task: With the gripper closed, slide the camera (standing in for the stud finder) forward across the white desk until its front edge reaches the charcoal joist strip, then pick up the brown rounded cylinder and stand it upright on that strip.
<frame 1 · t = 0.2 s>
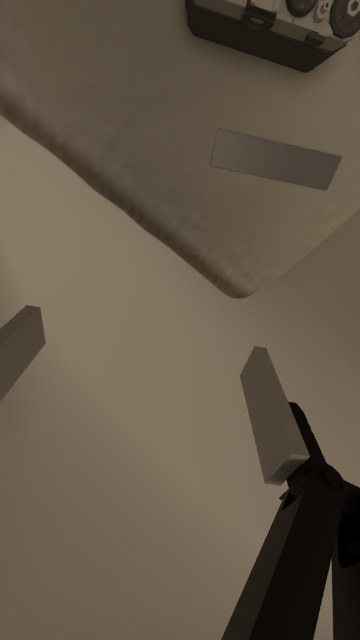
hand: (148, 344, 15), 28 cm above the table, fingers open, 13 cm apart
joist strip: (274, 161, 32), on the table
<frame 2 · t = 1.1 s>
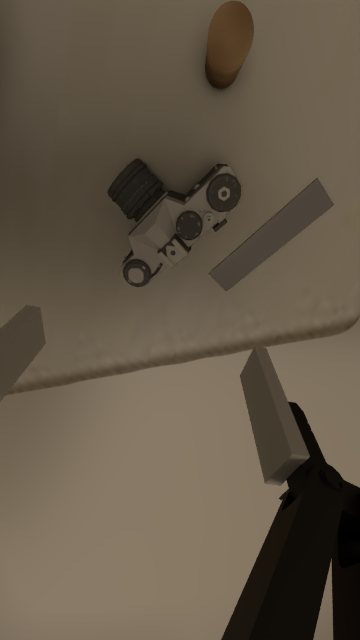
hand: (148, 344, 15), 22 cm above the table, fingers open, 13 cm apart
brown rounded cylinder: (220, 71, 24), on the table
camera: (164, 203, 31), on the table
joist strip: (265, 242, 32), on the table
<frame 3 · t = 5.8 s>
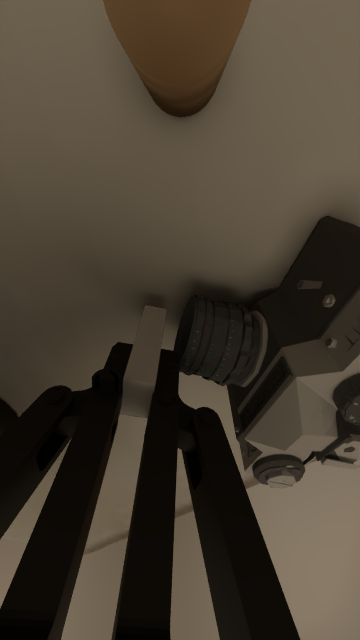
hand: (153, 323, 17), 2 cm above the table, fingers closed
brown rounded cylinder: (182, 79, 11), on the table
camera: (248, 310, 19), on the table, touching gripper
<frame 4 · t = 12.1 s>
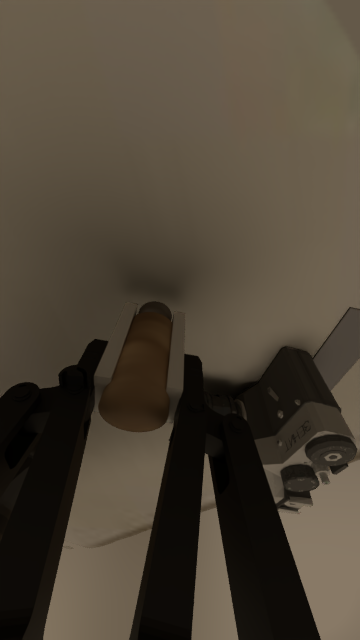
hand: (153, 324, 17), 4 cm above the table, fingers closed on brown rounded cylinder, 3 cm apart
brown rounded cylinder: (155, 315, 17), point 3 cm above the table, touching gripper
camera: (239, 391, 27), on the table
joist strip: (318, 379, 25), on the table
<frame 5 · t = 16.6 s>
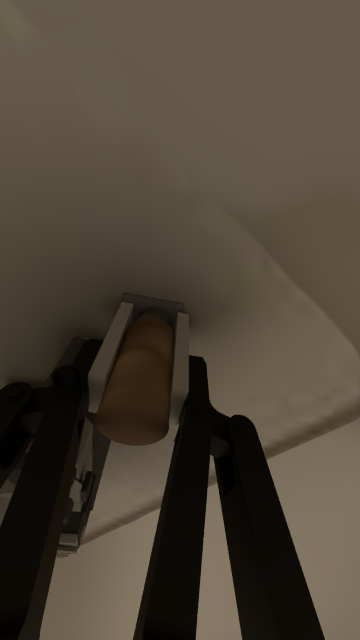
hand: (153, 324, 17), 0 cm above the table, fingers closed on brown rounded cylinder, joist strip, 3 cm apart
brown rounded cylinder: (154, 321, 17), resting on joist strip, touching gripper
camera: (65, 395, 22), on the table
joist strip: (140, 382, 21), on the table
when the fingers open (0 cm above the table, at t = 16.7 s): brown rounded cylinder stays where it is, resting on joist strip.
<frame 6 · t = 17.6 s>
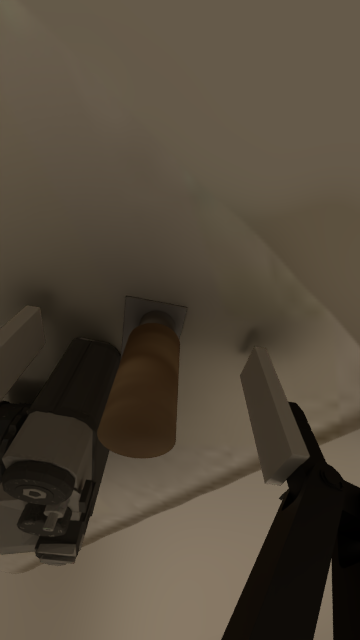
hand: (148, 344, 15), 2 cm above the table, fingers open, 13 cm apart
brown rounded cylinder: (157, 325, 16), resting on joist strip
camera: (65, 397, 22), on the table
joist strip: (142, 387, 20), on the table
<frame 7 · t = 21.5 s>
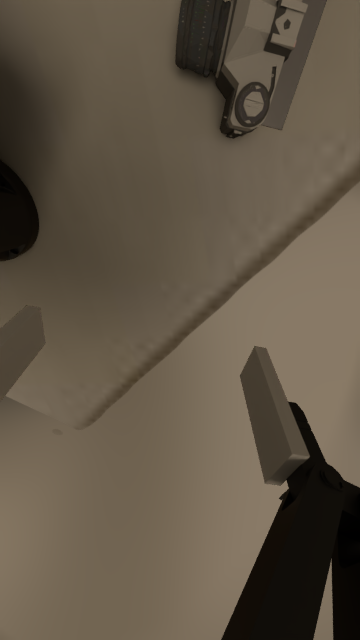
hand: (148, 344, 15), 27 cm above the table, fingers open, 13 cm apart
camera: (228, 43, 26), on the table
joist strip: (298, 23, 25), on the table
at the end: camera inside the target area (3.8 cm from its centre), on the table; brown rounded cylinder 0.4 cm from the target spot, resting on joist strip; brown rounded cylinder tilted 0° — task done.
